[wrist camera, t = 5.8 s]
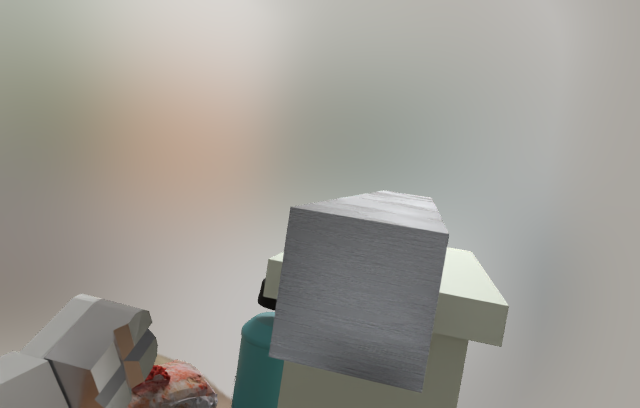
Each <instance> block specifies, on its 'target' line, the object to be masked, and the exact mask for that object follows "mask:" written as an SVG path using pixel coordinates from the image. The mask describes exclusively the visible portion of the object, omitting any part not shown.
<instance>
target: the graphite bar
mask: <svg viewBox="0 0 640 408" xmlns="http://www.w3.org/2000/svg"><path fill="white" fill-rule="evenodd" d="M448 238H449V232H448V230H447V228H446V226H445V224H444V222H443V220H442V218H441V216H440V214H439V212H438V210H437V208H436V205H435V203H434V201H433V199H432V198H429V197H423V196H416V195H409V194H404V193H397V192H391V191H378V192H373V193H368V194H361V195H356V196H350V197H344V198H338V199H333V200H327V201H321V202H316V203H310V204H304V205H299V206H293V207H291V208H290V215H289V222H288V228H287V235H286V242H285V249H284V255H283V262H282V269H281V276H280V282H279V289H278V296H277V303H276V310H275V316H274V323H273V330H272V337H271V343H270V350H269V357H272V358H276V359H281V360H285V361H289V362H293V363H297V364H302V365H306V366H310V367H314V368H318V369H323V370H327V371H331V372H335V373H339V374H344V375H348V376H352V377H356V378H360V379H364V380H369V381H373V382H377V383H381V384H385V385H390V386H394V387H398V388H402V389H406V390H411V391H415V392H419V393H422V389H423V383H424V377H425V371H426V366H427V360H428V354H429V348H430V343H431V337H432V331H433V325H434V319H435V314H436V308H437V302H438V296H439V290H440V285H441V279H442V273H443V267H444V261H445V256H446V250H447V244H448Z"/></svg>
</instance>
